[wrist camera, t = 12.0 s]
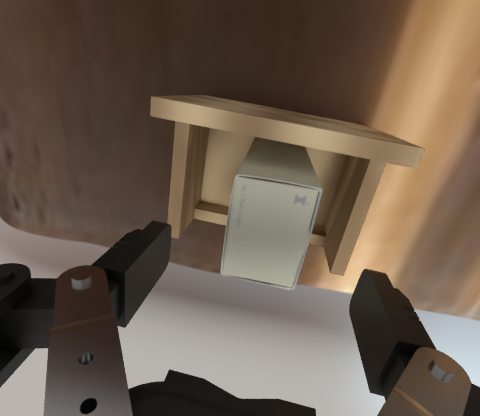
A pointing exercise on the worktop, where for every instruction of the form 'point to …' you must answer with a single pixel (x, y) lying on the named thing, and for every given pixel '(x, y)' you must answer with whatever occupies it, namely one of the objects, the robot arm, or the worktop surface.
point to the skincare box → (271, 214)
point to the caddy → (283, 130)
